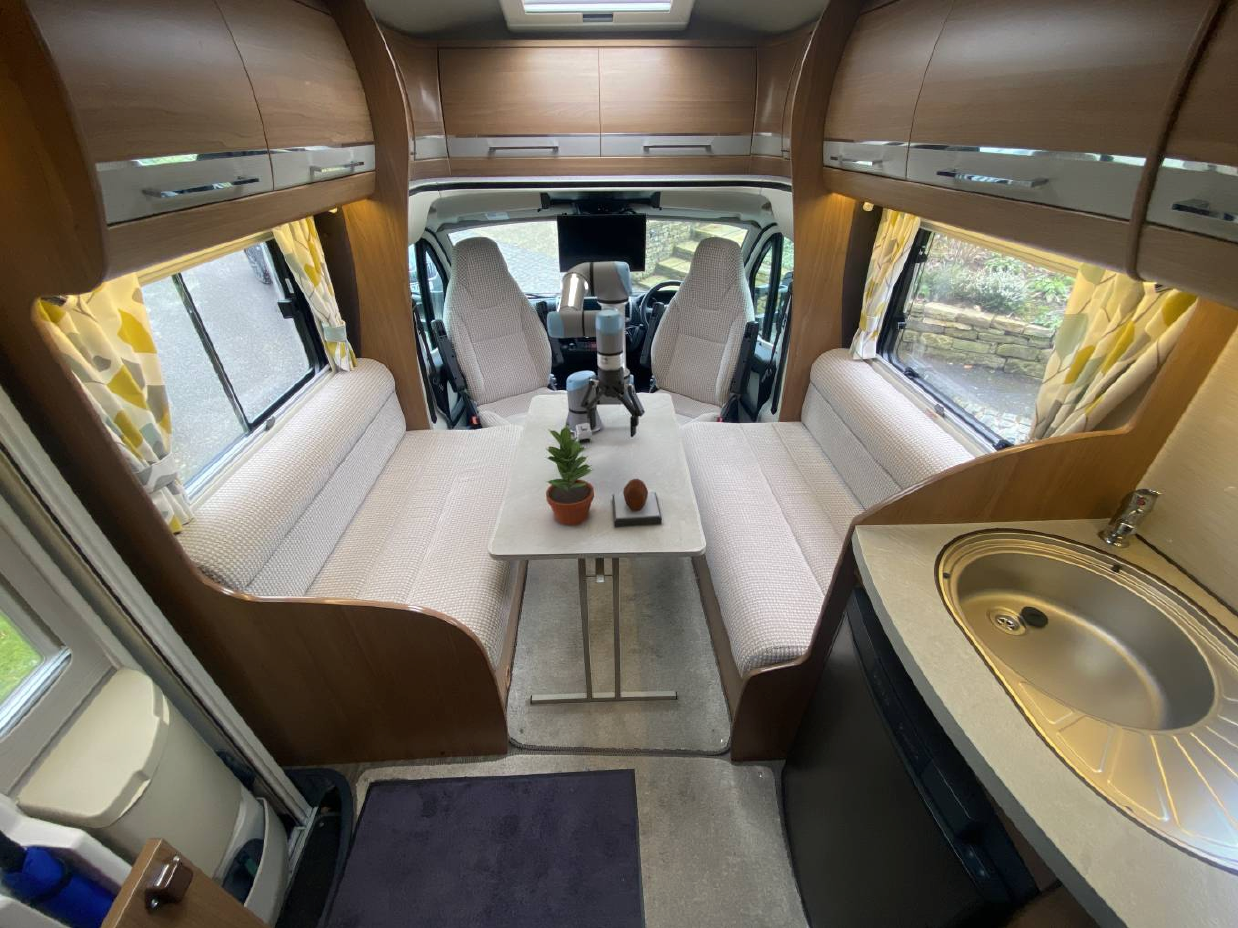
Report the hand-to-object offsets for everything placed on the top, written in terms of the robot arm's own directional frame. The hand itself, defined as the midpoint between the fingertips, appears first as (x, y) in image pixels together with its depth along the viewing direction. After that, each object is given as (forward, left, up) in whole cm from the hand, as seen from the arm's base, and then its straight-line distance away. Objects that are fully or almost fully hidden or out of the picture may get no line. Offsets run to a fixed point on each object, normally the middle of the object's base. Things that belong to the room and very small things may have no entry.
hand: (612, 431), depth 155 cm
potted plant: (+17, -7, -22) cm, 29 cm away
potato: (+9, +11, -19) cm, 24 cm away
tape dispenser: (-27, -26, -22) cm, 44 cm away
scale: (+9, +11, -22) cm, 26 cm away
